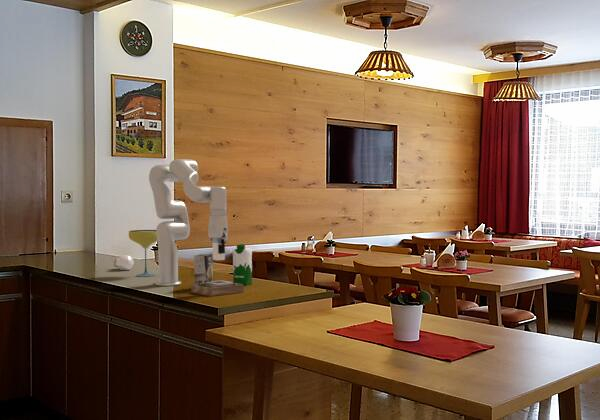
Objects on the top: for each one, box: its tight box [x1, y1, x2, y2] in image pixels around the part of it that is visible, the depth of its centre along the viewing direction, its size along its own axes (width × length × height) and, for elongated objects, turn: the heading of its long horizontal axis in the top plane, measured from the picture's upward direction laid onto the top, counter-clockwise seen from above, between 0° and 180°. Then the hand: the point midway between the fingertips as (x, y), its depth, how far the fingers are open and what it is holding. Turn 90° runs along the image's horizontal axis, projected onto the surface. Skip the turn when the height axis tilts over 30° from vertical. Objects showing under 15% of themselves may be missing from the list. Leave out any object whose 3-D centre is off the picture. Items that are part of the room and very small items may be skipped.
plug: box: [211, 238, 226, 261], centre depth 308 cm, size 4×4×10 cm
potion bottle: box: [113, 254, 134, 271], centre depth 401 cm, size 9×10×15 cm
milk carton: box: [232, 244, 253, 287], centre depth 334 cm, size 9×9×20 cm
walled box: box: [190, 283, 245, 297], centre depth 308 cm, size 16×18×4 cm
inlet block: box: [206, 279, 233, 288], centre depth 309 cm, size 9×9×4 cm
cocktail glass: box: [128, 229, 158, 278], centre depth 371 cm, size 18×18×25 cm
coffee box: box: [194, 253, 214, 285], centre depth 322 cm, size 9×6×16 cm
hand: (218, 252), depth 309 cm, fingers closed on plug, 4 cm apart
